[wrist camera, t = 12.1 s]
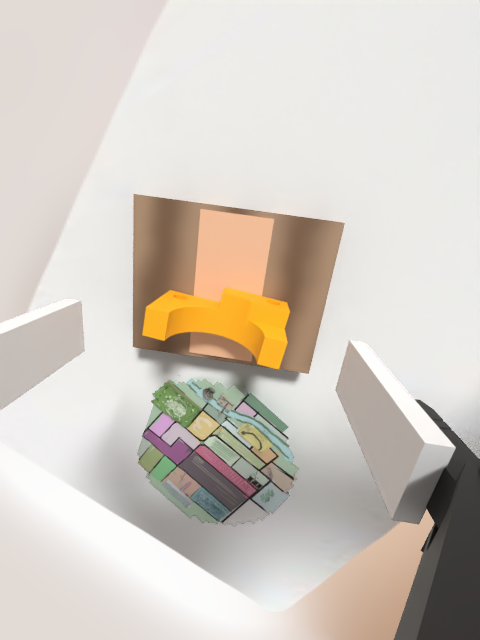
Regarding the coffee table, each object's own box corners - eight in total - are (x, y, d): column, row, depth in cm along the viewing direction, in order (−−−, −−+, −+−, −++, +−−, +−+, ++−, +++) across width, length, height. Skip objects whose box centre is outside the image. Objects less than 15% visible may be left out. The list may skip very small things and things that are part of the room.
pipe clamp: (287, 302, 29) (293, 323, 23) (275, 340, 30) (278, 369, 24) (173, 273, 29) (148, 286, 22) (166, 312, 30) (142, 335, 24)
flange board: (336, 223, 29) (345, 222, 26) (304, 361, 34) (308, 374, 31) (146, 197, 29) (132, 193, 26) (143, 336, 35) (132, 347, 32)
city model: (155, 336, 37) (129, 355, 31) (327, 399, 35) (333, 432, 29) (128, 470, 46) (104, 505, 40) (264, 528, 44) (259, 573, 38)
